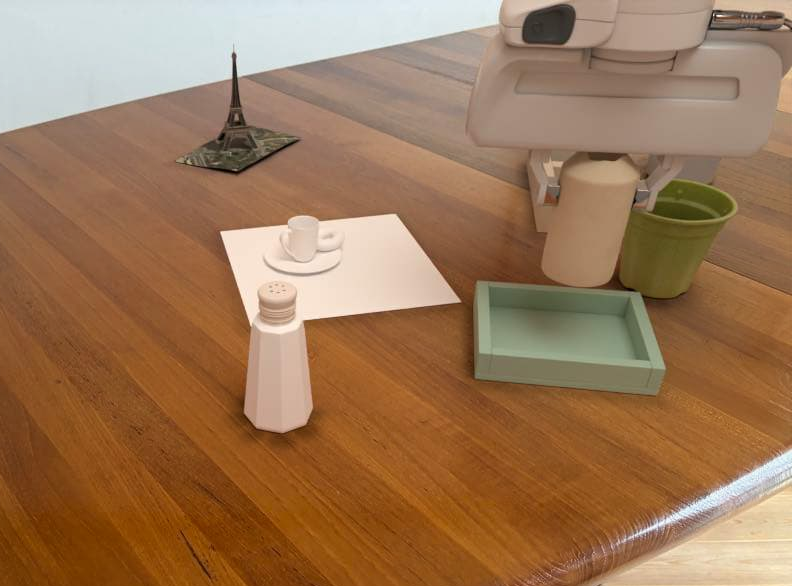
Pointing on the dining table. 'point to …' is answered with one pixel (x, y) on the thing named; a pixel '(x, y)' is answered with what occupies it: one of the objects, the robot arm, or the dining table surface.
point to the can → (691, 168)
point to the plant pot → (673, 237)
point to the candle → (589, 218)
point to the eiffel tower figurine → (237, 139)
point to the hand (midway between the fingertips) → (591, 205)
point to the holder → (552, 170)
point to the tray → (565, 338)
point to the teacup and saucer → (337, 266)
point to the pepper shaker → (278, 363)
